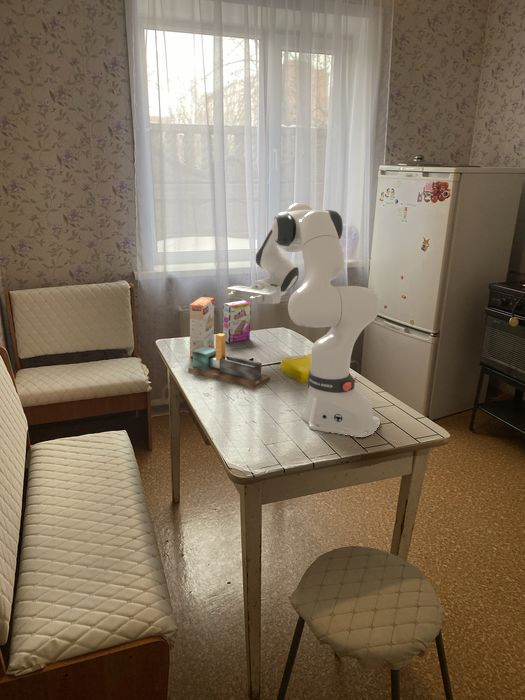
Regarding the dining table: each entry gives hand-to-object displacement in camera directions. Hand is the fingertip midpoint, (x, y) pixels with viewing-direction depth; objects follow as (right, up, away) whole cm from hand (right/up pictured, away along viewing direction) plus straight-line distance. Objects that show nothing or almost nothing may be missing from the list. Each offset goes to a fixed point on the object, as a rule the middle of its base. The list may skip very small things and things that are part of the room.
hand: (240, 298), depth 187 cm
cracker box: (-16, -20, +20) cm, 32 cm away
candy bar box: (-3, -15, +36) cm, 39 cm away
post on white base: (-9, -24, -2) cm, 26 cm away
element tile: (+24, -27, +2) cm, 36 cm away
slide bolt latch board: (-4, -28, -3) cm, 28 cm away
